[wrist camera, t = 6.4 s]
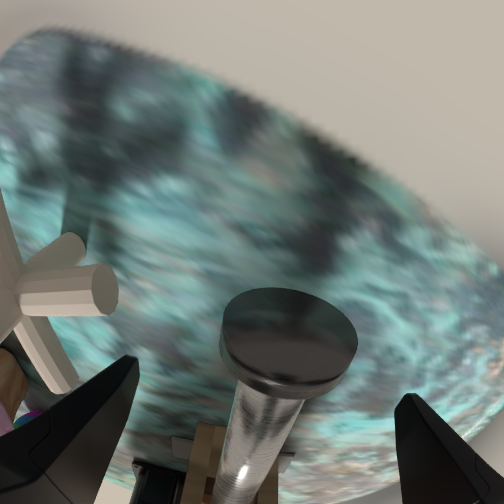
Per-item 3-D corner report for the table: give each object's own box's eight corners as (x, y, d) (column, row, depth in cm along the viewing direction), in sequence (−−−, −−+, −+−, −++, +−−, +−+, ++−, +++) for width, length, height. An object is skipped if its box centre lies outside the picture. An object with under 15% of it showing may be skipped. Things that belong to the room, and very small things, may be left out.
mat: (283, 470, 23) (284, 472, 23) (172, 453, 23) (172, 456, 23) (294, 454, 22) (294, 456, 22) (171, 435, 22) (171, 438, 22)
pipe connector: (128, 132, 13) (-63, 192, 4) (177, 321, 17) (113, 487, 8) (-6, 181, 14) (-133, 249, 5) (46, 322, 18) (-34, 427, 9)
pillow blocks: (255, 480, 25) (250, 553, 17) (193, 471, 25) (179, 543, 17) (278, 433, 21) (276, 533, 13) (198, 421, 21) (176, 520, 13)
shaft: (257, 488, 18) (254, 534, 14) (201, 480, 18) (193, 527, 14) (344, 298, 11) (371, 380, 7) (231, 279, 11) (213, 361, 7)
